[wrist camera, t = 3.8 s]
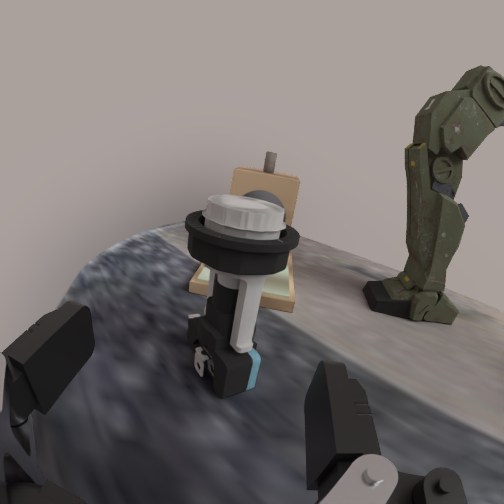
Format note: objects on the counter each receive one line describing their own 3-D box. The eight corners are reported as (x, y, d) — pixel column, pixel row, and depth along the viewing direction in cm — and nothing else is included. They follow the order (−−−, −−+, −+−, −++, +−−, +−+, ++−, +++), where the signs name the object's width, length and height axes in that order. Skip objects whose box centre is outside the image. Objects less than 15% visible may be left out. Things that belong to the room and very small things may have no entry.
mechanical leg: (341, 301, 26) (463, 30, 15) (333, 271, 33) (435, 49, 22) (441, 346, 26) (548, 113, 15) (421, 314, 33) (514, 115, 22)
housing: (223, 238, 40) (237, 146, 36) (288, 250, 40) (307, 159, 36) (188, 291, 25) (206, 143, 21) (292, 312, 25) (327, 164, 20)
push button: (156, 338, 18) (164, 184, 15) (225, 325, 21) (247, 188, 18) (200, 413, 13) (223, 220, 10) (281, 384, 16) (328, 221, 13)
